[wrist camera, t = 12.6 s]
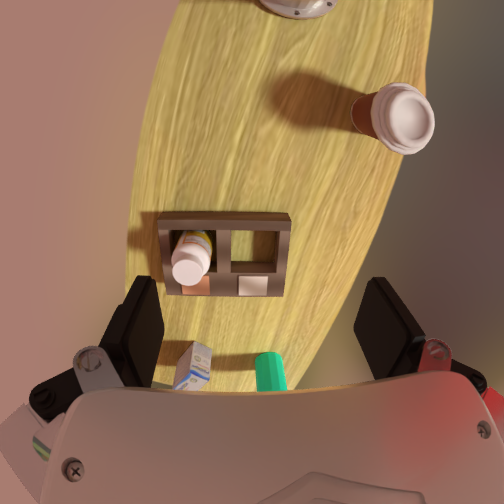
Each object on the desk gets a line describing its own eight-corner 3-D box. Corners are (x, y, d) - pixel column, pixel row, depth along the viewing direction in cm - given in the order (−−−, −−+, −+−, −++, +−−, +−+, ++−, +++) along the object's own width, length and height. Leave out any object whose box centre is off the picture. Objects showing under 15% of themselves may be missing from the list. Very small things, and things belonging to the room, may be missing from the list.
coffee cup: (394, 92, 33) (442, 91, 22) (392, 147, 37) (438, 161, 26) (341, 82, 32) (380, 73, 22) (340, 141, 37) (378, 153, 26)
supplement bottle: (193, 261, 45) (183, 296, 36) (173, 235, 42) (158, 267, 34) (220, 245, 44) (216, 279, 35) (201, 218, 41) (191, 247, 33)
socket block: (163, 211, 40) (156, 220, 37) (287, 213, 42) (292, 222, 38) (170, 282, 46) (166, 295, 43) (280, 284, 48) (283, 297, 44)
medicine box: (195, 366, 57) (191, 397, 50) (177, 359, 56) (171, 390, 48) (212, 348, 55) (210, 381, 47) (193, 339, 53) (188, 372, 46)
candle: (262, 349, 55) (267, 396, 45) (287, 355, 57) (295, 400, 46) (250, 365, 58) (252, 410, 47) (274, 371, 59) (279, 414, 48)
